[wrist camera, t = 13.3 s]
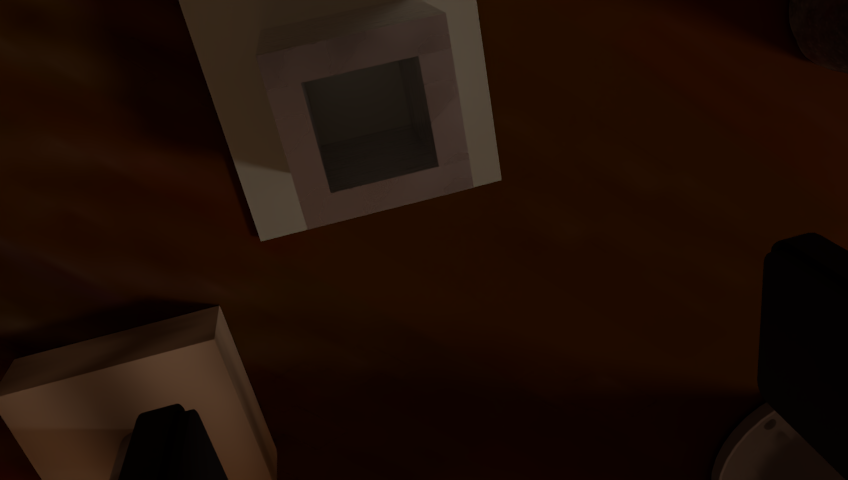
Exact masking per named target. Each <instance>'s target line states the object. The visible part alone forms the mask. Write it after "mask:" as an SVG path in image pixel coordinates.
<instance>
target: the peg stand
mask: <svg viewBox="0 0 848 480" xmlns="http://www.w3.org/2000/svg"><path fill="white" fill-rule="evenodd" d="M173 404H181V406H182V407H183V408H184V409H185V411H188V410H191V409H195V410H196V411H197V412H198V414H199V416H200V418H201V420H202V422H203V425H204V427H205V429H206V431H207V433H208V436H209V438H210V440H211V442H212V445H213V447H214V449H215V451H216V454H217V456H218V458H219V460H220V462H221V465H222V467H223V469H224V471H225V474H226V476H227V478H228V480H277V449H276V447H275V444H274V442H273V439H272V437H271V434H270V432H269V429H268V427H267V424H266V422H265V419H264V417H263V414H262V412H261V409H260V406H259V404H258V401H257V399H256V396H255V394H254V391H253V389H252V386H251V384H250V381H249V379H248V376H247V374H246V371H245V369H244V366H243V364H242V361H241V358H240V356H239V353H238V351H237V348H236V346H235V343H234V341H233V338H232V336H231V333H230V331H229V328H228V326H227V323H226V321H225V318H224V316H223V313H222V310H221V308H220V305H219V306H216V307H212V308H208V309H204V310H200V311H197V312H193V313H189V314H185V315H181V316H178V317H174V318H170V319H166V320H162V321H158V322H155V323H151V324H147V325H143V326H139V327H136V328H132V329H128V330H124V331H120V332H117V333H113V334H109V335H105V336H101V337H98V338H94V339H90V340H86V341H82V342H78V343H75V344H71V345H67V346H63V347H59V348H56V349H52V350H48V351H44V352H40V353H37V354H33V355H29V356H25V357H21V358H18V359H14V361H13V362H12V364H11V365H10V367H9V369H8V370H7V372H6V374H5V375H4V377H3V379H2V380H1V382H0V415H1V417H2V418H3V420H4V422H5V423H6V425H7V426H8V428H9V429H10V431H11V432H12V434H13V436H14V437H15V439H16V440H17V442H18V443H19V445H20V446H21V448H22V450H23V451H24V453H25V454H26V456H27V457H28V459H29V460H30V462H31V464H32V465H33V467H34V468H35V470H36V471H37V473H38V475H39V476H40V478H41V479H42V480H118V478H119V475H120V472H121V468H122V465H123V462H124V459H125V455H126V452H127V449H128V446H129V442H130V439H131V436H132V432H133V429H134V426H135V423H136V420H137V418H138V416H139V415H140V414H141V413H143V412H147V411H151V410H155V409H158V408H162V407H166V406H169V405H173Z"/></svg>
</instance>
